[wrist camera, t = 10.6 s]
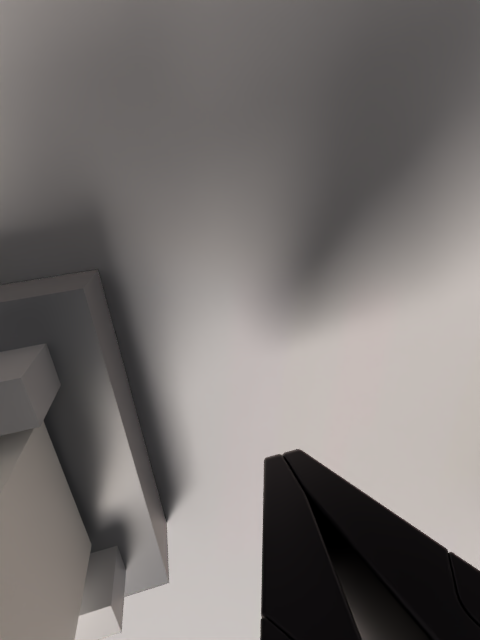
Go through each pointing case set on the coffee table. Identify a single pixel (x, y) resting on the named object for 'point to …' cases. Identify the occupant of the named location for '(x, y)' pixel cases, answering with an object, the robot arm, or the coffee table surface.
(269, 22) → the coffee table surface
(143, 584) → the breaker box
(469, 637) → the robot arm
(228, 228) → the coffee table surface
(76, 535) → the toggle
